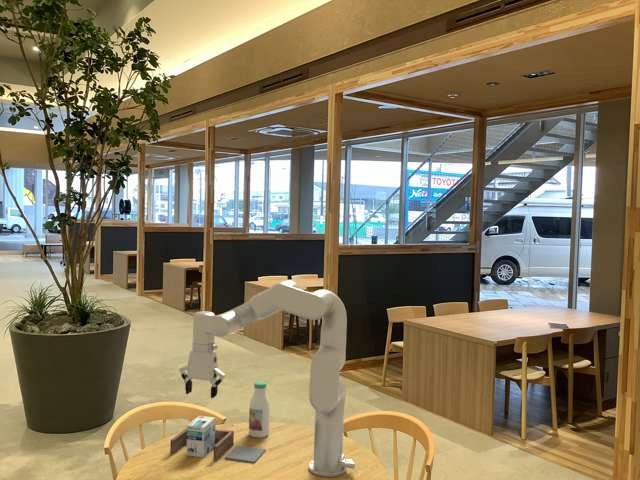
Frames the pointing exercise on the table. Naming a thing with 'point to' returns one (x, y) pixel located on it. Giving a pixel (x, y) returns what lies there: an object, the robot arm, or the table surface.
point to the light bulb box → (201, 436)
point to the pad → (245, 454)
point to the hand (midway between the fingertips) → (201, 395)
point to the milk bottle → (259, 412)
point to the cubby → (223, 444)
